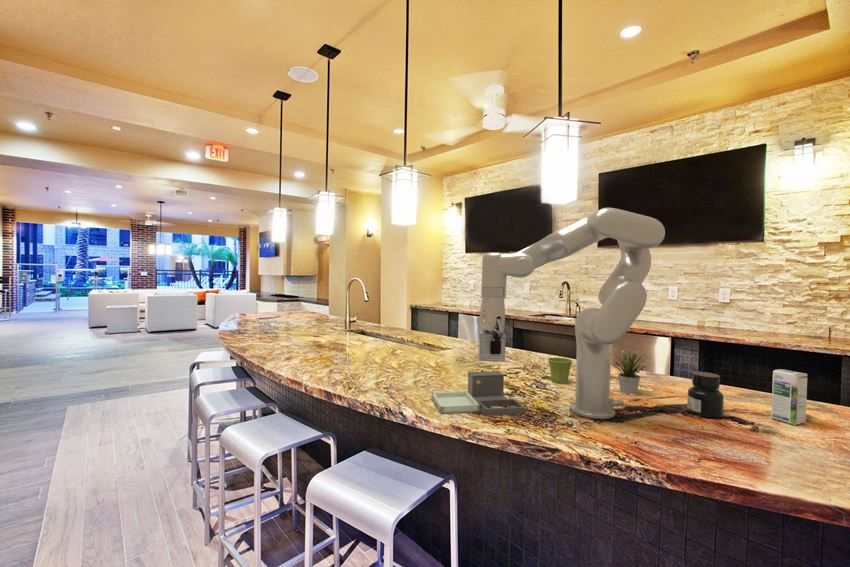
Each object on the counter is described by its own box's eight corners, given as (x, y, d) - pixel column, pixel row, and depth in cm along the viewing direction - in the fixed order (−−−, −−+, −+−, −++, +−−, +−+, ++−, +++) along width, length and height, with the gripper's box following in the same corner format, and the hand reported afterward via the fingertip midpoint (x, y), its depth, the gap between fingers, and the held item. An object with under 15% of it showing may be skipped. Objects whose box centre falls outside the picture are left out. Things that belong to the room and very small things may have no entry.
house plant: (665, 397, 133) (666, 350, 132) (636, 401, 128) (637, 352, 127) (629, 386, 146) (630, 343, 146) (601, 389, 141) (603, 345, 141)
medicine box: (503, 359, 121) (504, 331, 121) (505, 362, 116) (506, 333, 116) (477, 358, 121) (478, 330, 121) (478, 361, 117) (479, 332, 117)
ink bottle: (685, 406, 124) (686, 369, 124) (719, 411, 120) (720, 372, 120) (689, 415, 116) (690, 376, 115) (726, 421, 111) (727, 380, 111)
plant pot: (542, 379, 154) (542, 357, 154) (562, 377, 157) (562, 356, 157) (556, 385, 146) (557, 362, 145) (577, 384, 148) (578, 361, 148)
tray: (466, 397, 130) (466, 391, 130) (479, 411, 116) (479, 405, 116) (431, 398, 128) (431, 392, 128) (440, 413, 114) (441, 406, 114)
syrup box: (770, 418, 114) (771, 370, 114) (782, 416, 116) (783, 368, 116) (794, 426, 109) (796, 374, 108) (806, 423, 111) (808, 373, 110)
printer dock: (500, 392, 136) (500, 371, 136) (525, 413, 115) (526, 388, 115) (465, 394, 134) (465, 372, 133) (485, 415, 113) (486, 389, 113)
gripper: (473, 291, 126) (471, 346, 127) (491, 294, 109) (489, 358, 110) (495, 292, 128) (493, 346, 128) (516, 295, 111) (514, 358, 111)
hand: (491, 351), depth 119 cm, fingers closed on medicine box, 5 cm apart
